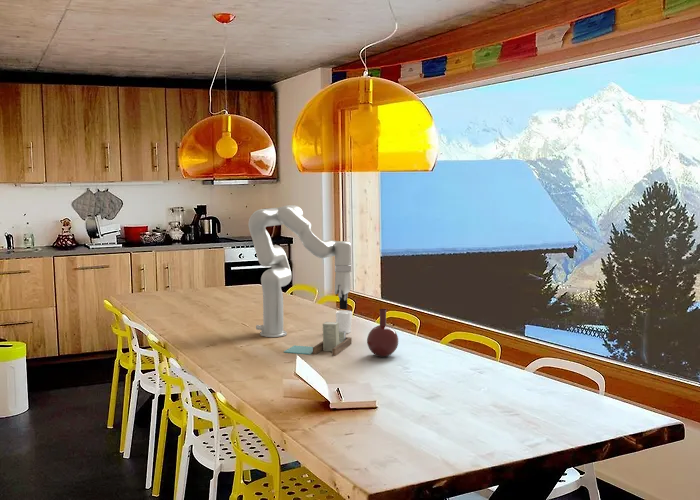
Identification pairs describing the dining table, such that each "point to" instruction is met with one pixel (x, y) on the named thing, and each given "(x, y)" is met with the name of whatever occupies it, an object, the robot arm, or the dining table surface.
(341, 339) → the brushed steel block
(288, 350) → the coaster
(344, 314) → the white cup
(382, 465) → the dining table surface
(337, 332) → the skincare box
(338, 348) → the brown rectangular frame
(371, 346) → the round-bottom flask
